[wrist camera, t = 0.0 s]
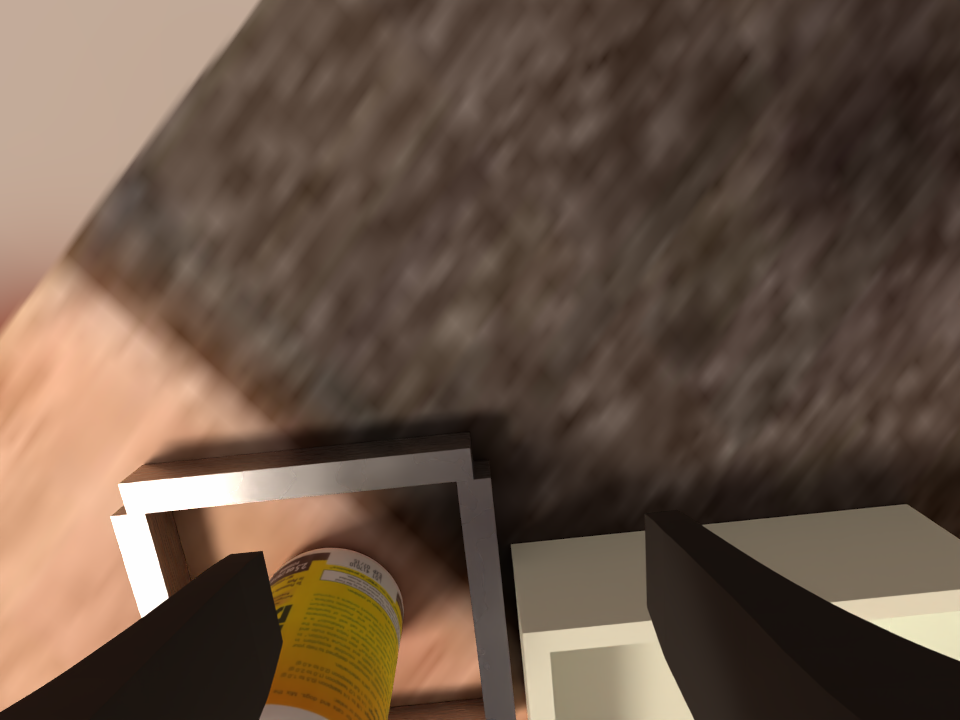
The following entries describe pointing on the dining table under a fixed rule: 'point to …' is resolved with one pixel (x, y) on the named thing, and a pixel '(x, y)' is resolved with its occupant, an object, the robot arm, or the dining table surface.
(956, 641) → the bin
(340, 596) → the supplement bottle
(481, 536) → the socket collar
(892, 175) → the dining table surface
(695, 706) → the robot arm
